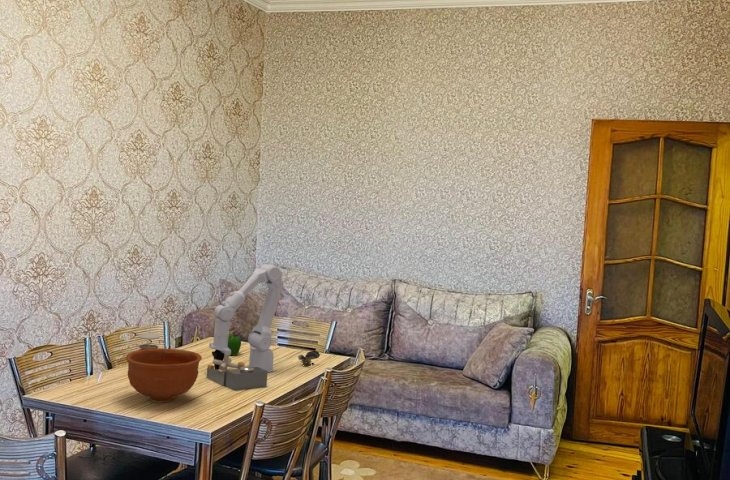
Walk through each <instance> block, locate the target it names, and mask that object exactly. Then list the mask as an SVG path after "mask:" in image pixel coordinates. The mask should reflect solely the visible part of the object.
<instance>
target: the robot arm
mask: <svg viewBox="0 0 730 480" xmlns="http://www.w3.org/2000/svg"><path fill="white" fill-rule="evenodd" d="M283 273H284V272H282V270H281V269H280V267H278V266H276V265H272V264H268V263H261V264H259V266H258V267H257V268H256V269H255V270H254V272H253V273H252V275H250V277H249V279H247V280H246V282H245V283H244V284H243V285H242V287H240V289H239V290H234V291H232V292H230V294H229V296H228V297H227V298H226V299H225V300H224V301H222V302H221V304H218V305H217V306H216V307H215V308H214V311H212V313H213V316H214V319H215V320H214V330H213V332H214V333H213V340H212V341H213V342H209V344H208V345H209V346H208V347H209V348H210V349H211V350H214V351H211V355H212V357H213V359H216V360H221V361H224V354H225V355H229V356H232V355H231V350H230V349H229V348H228V337H230V336H229V335H230V334H229V332H230V324H231V320H232V319H233V317H234V314H235V312H236V311H237V310H238V309H239V308H240V306H241V305H243V303H244V302H245V300H246V296H247V295H248V294H249V293H251V291H253V289H255V288H256V287H257V286H258V285H259V284H262V283H265V284H266V286H267V288H268V289H267V292H266V296H265V299H264V303H263V305H262V309H261V312H260V315H259V319H258V321H257V324H256V325H255V326H254V327H252V331H251V333H249V335H248V337H247V342H248V345H250V350H249V360H248V361H249V362H248V366H249V367H259V368H262V369H264V370H266V371H268V373H271V371H272V372H274V371H275V370H274V369H273V368H274V358H275V355H274V352H273V351H274V350H272V349H271V348H270V347H271V346H272V336H273V333H272V330H271V327H272V323H273V320H274V316H275V314H276V312H277V311H276V310H277V307H278V304H279V301H280V297H281V295H282V290H283V287H284V286H283V279H282V278H283ZM213 366H214V369H216V370H218V371H221V370H220V369H219V367H220V366H221V365H217V364H213Z"/></svg>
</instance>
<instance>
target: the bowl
mask: <svg viewBox="0 0 730 480" xmlns="http://www.w3.org/2000/svg"><path fill="white" fill-rule="evenodd" d="M202 359H203V357H202V355H201V354H199V353H198V352H196V351H192V350H191V351H190V350H186V349H178V348H167V349H166V348H159V347H158V348H157V349H144V350H139V349H138V350H134V351H130V352H129V353H127V354H126V355H125V360H126V361H127V364H128V365H127V366H128V367H127V378H128V380H129V384H130V386H131V387H132V388H133V389H134V390H135V391H136V392H137V393H138V394H140V395H142V396H144V397H146V398H149V400H150V401H152V402H155V403H157V402H158V403H167V402H172V401H174V399H175V398H176V397H181V396H182V395H184V394H186V393H188V392H189V391H190V390H191V389H192V387H193V386H194V385H195V382H196V381H197V378H198V376H199V364H200V362H201V361H202Z"/></svg>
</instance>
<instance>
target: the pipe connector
mask: <svg viewBox="0 0 730 480" xmlns="http://www.w3.org/2000/svg"><path fill="white" fill-rule="evenodd" d="M232 361H233V359H232V358H231V357H230V355H225V354H224V359H223V361H221V360H216V359H214V358H213V360H212V365H214V364H217V365H221V366H220V367H219V369H220V370H219V371H221V372H226V370H228V368H232V369H238V363H235V362H232Z"/></svg>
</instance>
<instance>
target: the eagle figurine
mask: <svg viewBox="0 0 730 480" xmlns="http://www.w3.org/2000/svg"><path fill="white" fill-rule="evenodd" d="M320 356H321V354H320V352H319V351H318V350H311V351H308V352H306V354H305V356H304V355H303V354H298V356H297V359H298V361H300V363H302V366H303V365H304V366H305V365H306V364H308V365H310V364H312V363H311V362H313V361H312V360H315V359H319V358H320ZM312 365H313V364H312Z"/></svg>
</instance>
